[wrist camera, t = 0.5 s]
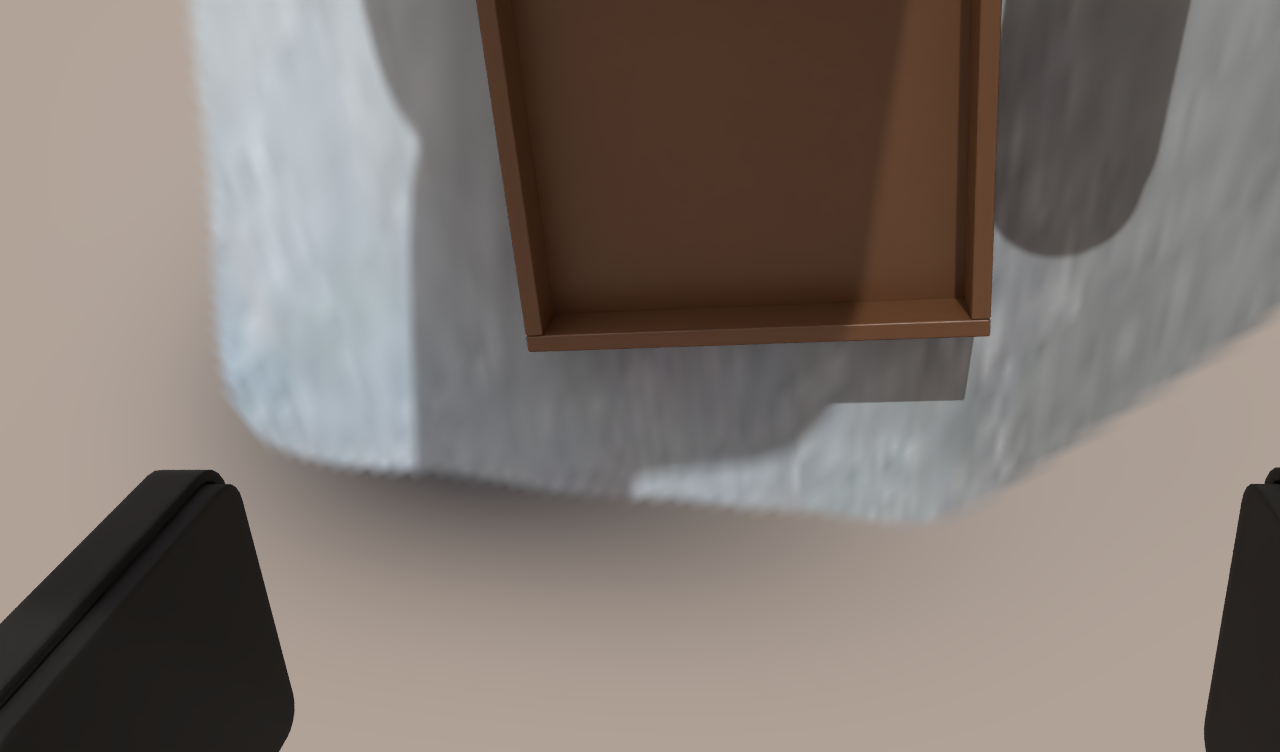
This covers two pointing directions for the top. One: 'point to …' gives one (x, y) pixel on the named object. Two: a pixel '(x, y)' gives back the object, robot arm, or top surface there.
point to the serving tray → (746, 168)
